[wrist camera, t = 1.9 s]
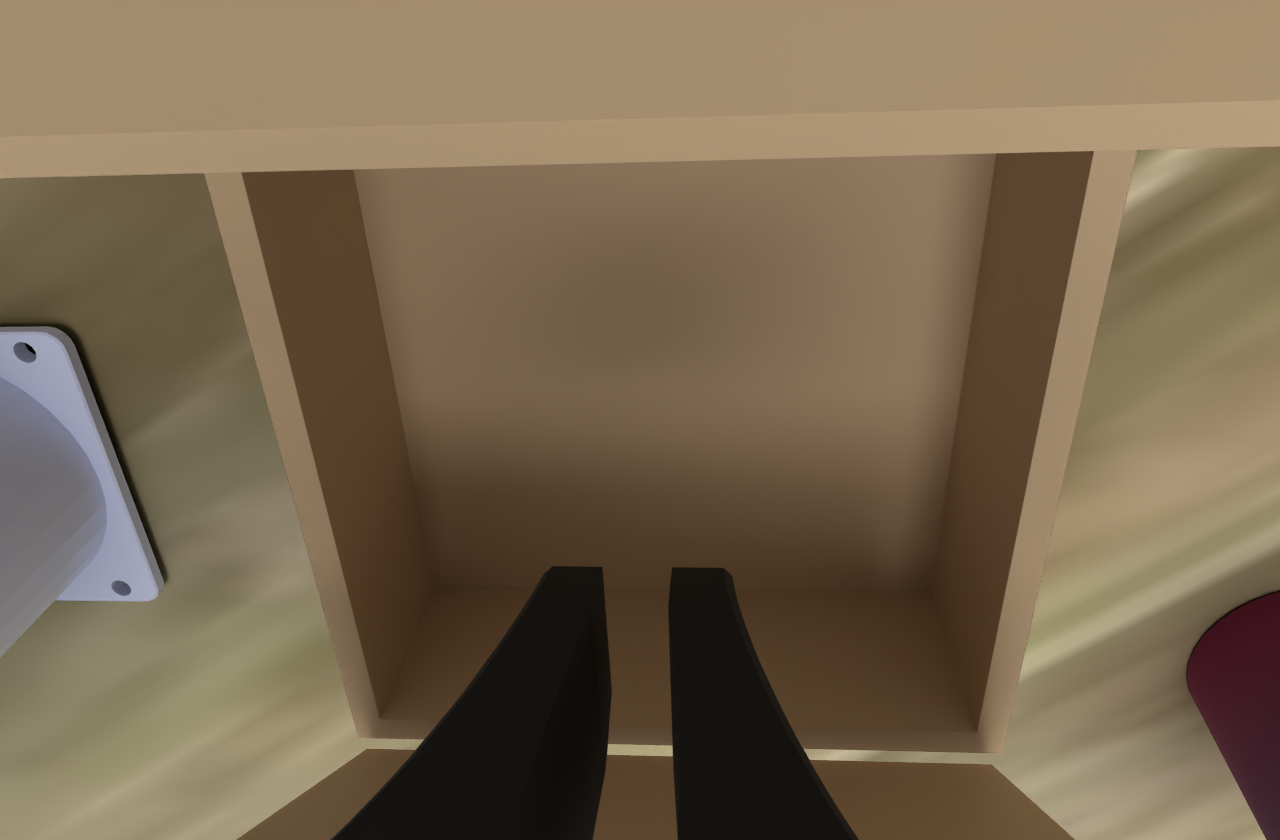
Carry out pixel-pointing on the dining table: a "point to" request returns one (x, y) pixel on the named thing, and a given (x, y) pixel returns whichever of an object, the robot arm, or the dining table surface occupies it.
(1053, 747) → the dining table surface
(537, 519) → the carton
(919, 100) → the flap
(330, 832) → the flap
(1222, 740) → the cup
